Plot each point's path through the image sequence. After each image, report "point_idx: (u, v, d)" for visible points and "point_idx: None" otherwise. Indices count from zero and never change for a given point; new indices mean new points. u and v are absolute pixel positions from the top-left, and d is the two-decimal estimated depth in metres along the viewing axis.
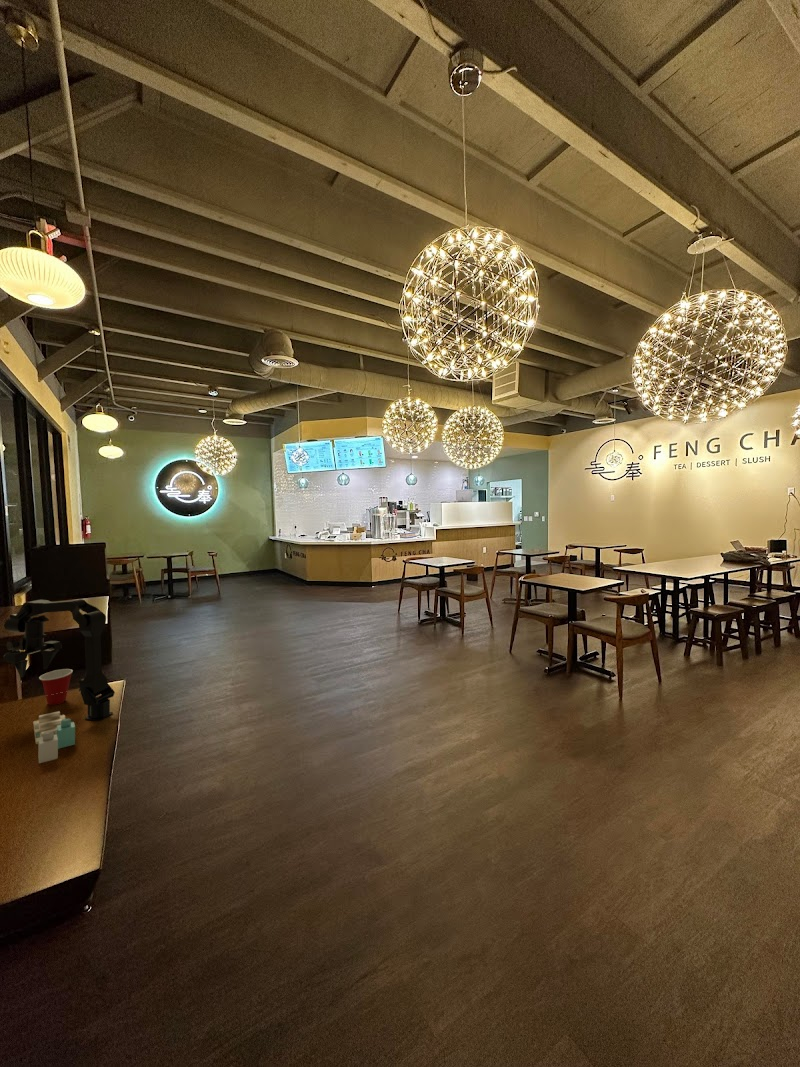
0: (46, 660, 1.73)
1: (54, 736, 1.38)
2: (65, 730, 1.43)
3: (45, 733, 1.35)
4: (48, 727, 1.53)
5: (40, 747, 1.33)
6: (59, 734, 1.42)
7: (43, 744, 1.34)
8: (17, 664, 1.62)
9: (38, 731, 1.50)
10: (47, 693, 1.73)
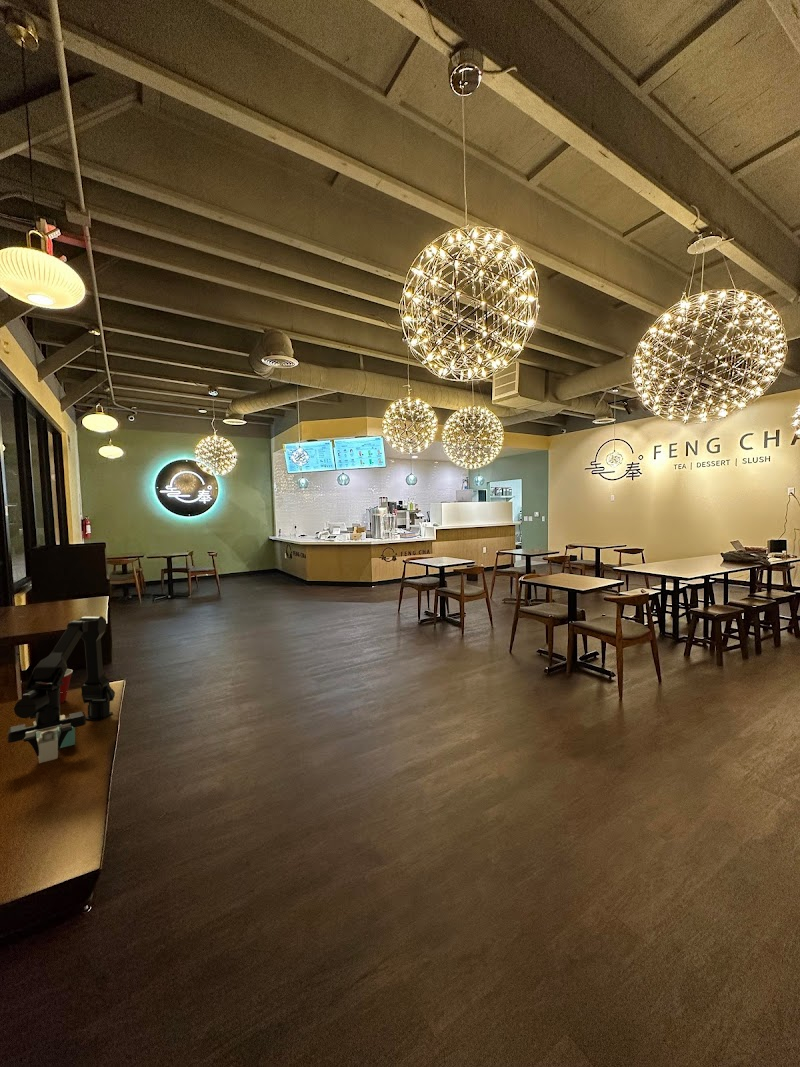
0: (58, 740, 1.37)
1: (54, 736, 1.38)
2: None
3: (45, 733, 1.35)
4: None
5: (40, 747, 1.33)
6: None
7: (43, 744, 1.34)
8: None
9: (38, 731, 1.50)
10: None
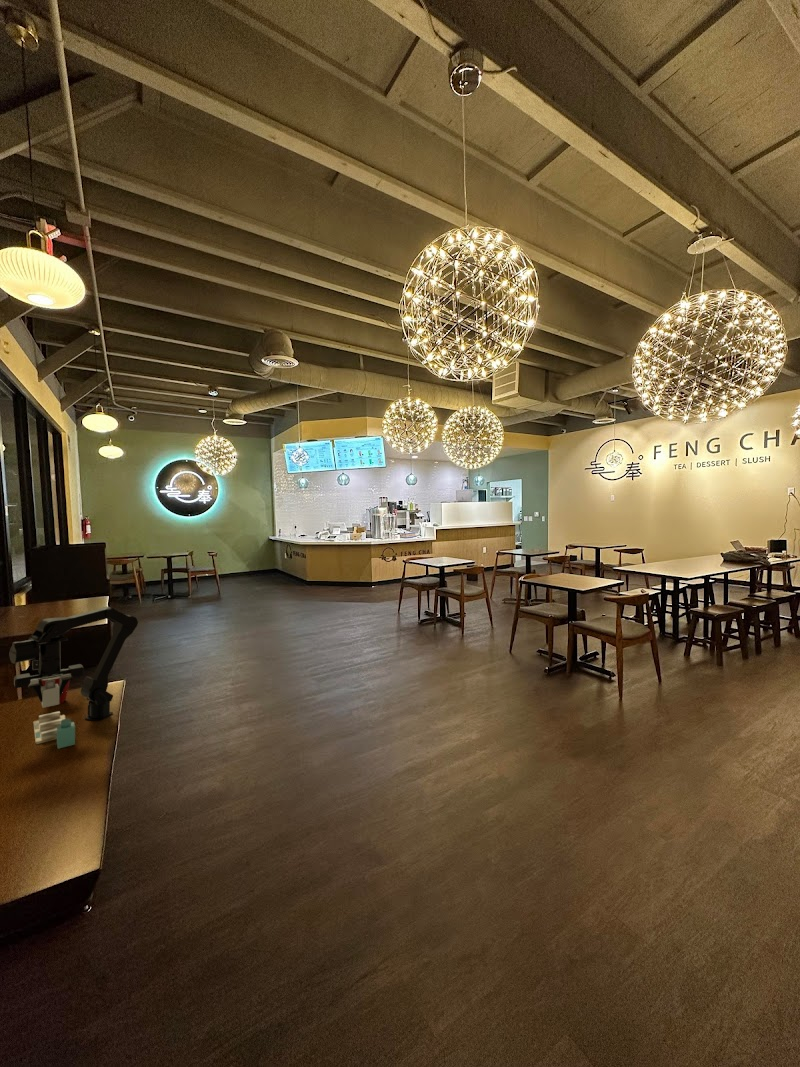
0: (59, 688, 1.52)
1: (55, 685, 1.52)
2: (65, 730, 1.43)
3: (47, 681, 1.50)
4: (48, 727, 1.53)
5: (43, 693, 1.48)
6: (59, 734, 1.42)
7: (46, 691, 1.49)
8: None
9: (38, 731, 1.50)
10: None
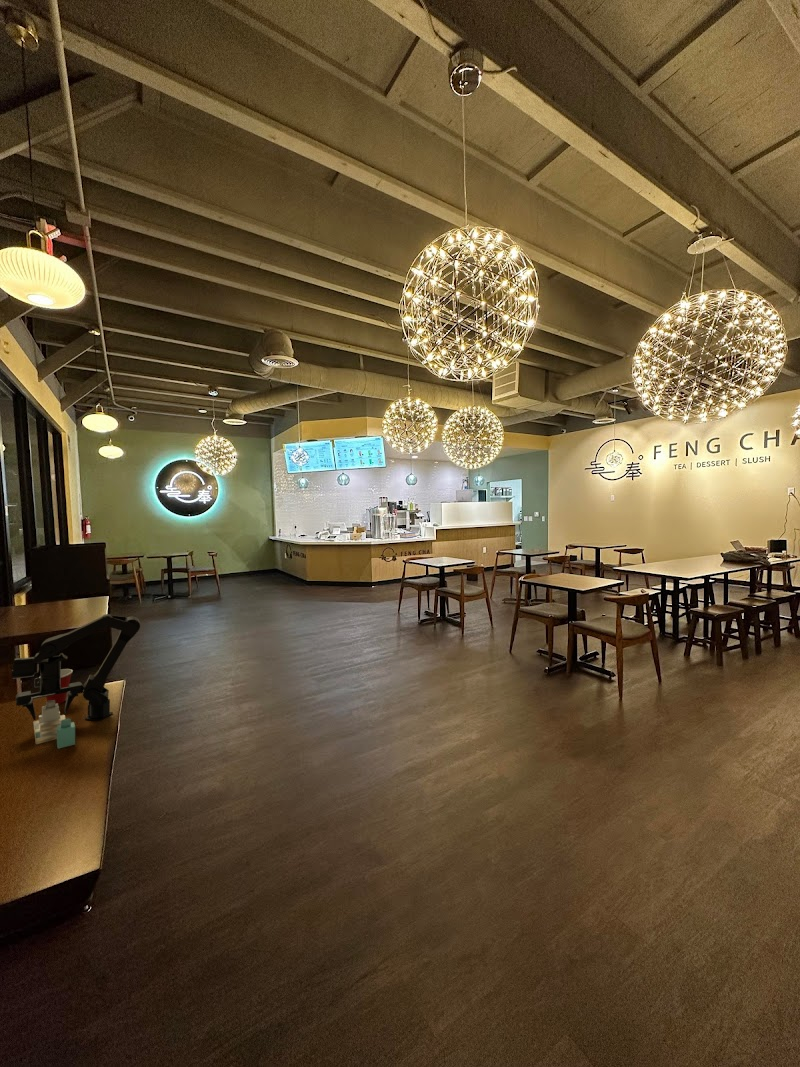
0: (65, 704, 1.59)
1: (55, 705, 1.58)
2: (65, 730, 1.43)
3: (48, 701, 1.56)
4: (48, 727, 1.53)
5: (44, 713, 1.54)
6: (59, 734, 1.42)
7: (47, 711, 1.54)
8: None
9: (38, 731, 1.50)
10: None
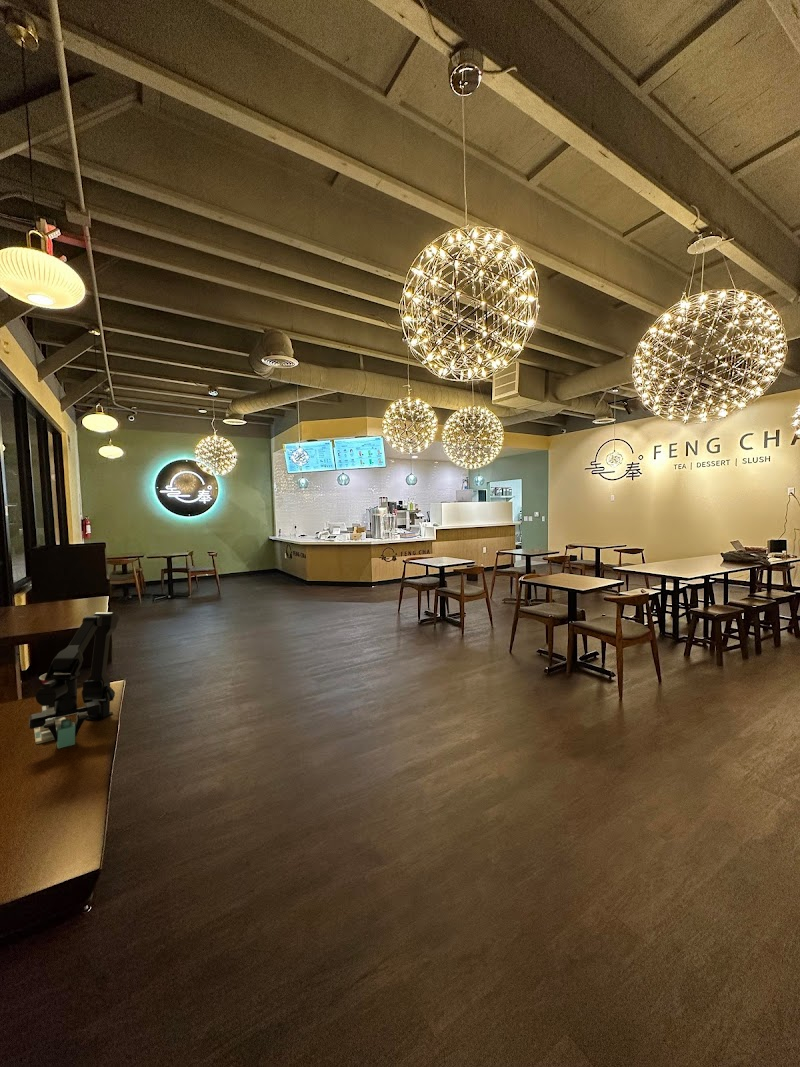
0: (75, 727, 1.46)
1: None
2: (65, 730, 1.43)
3: None
4: None
5: None
6: (59, 734, 1.42)
7: (47, 711, 1.54)
8: None
9: (38, 731, 1.50)
10: None
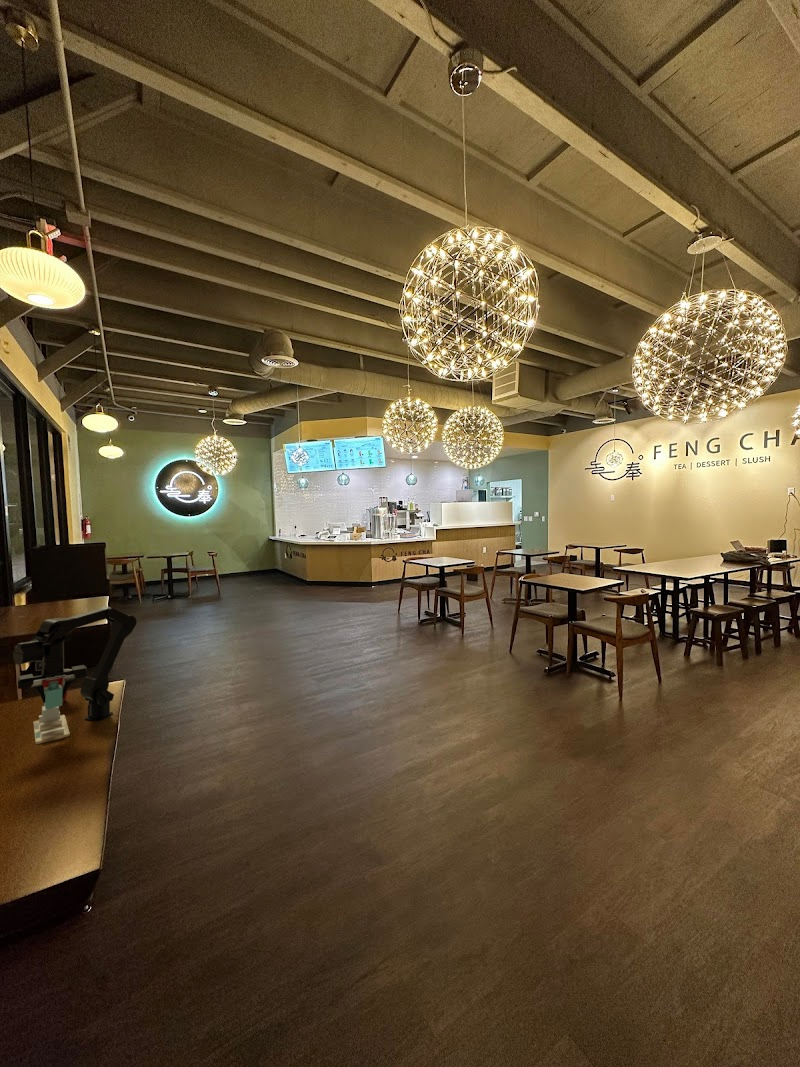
0: (62, 689, 1.51)
1: None
2: (53, 691, 1.48)
3: None
4: (48, 727, 1.53)
5: (44, 713, 1.54)
6: (47, 695, 1.47)
7: (47, 711, 1.54)
8: None
9: (38, 731, 1.50)
10: None
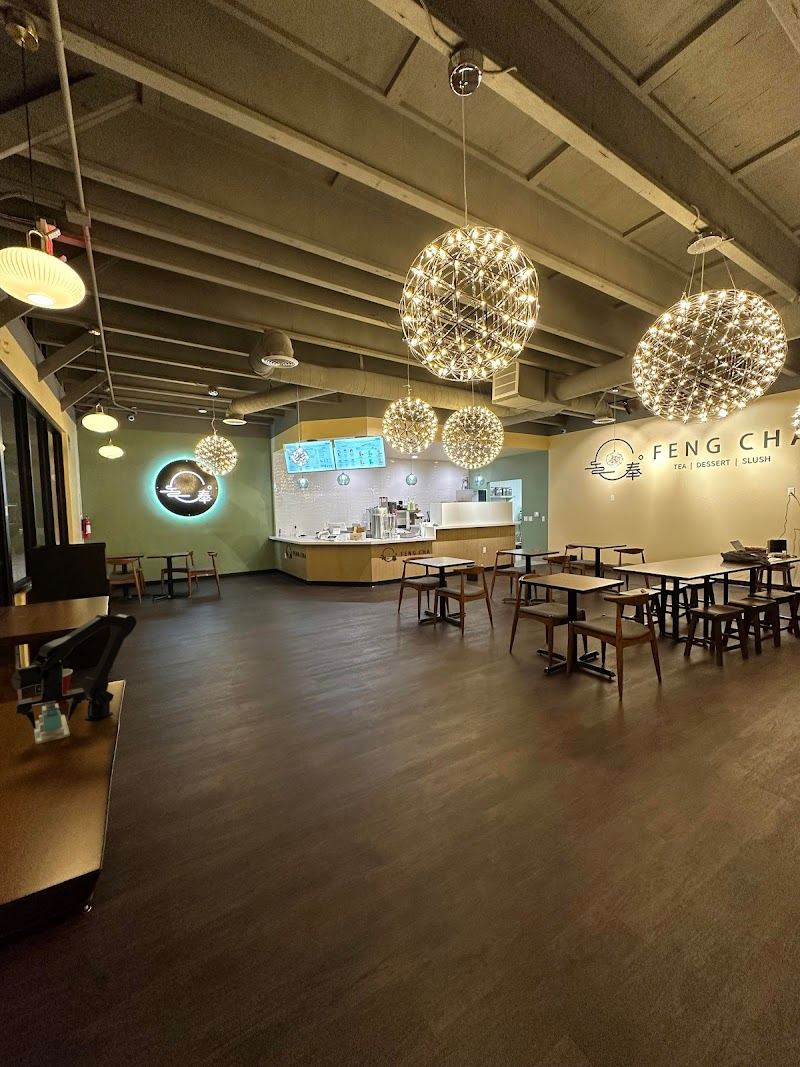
0: (69, 711, 1.53)
1: (55, 705, 1.58)
2: (51, 718, 1.49)
3: None
4: None
5: (44, 713, 1.54)
6: (45, 722, 1.48)
7: None
8: None
9: (38, 731, 1.50)
10: None
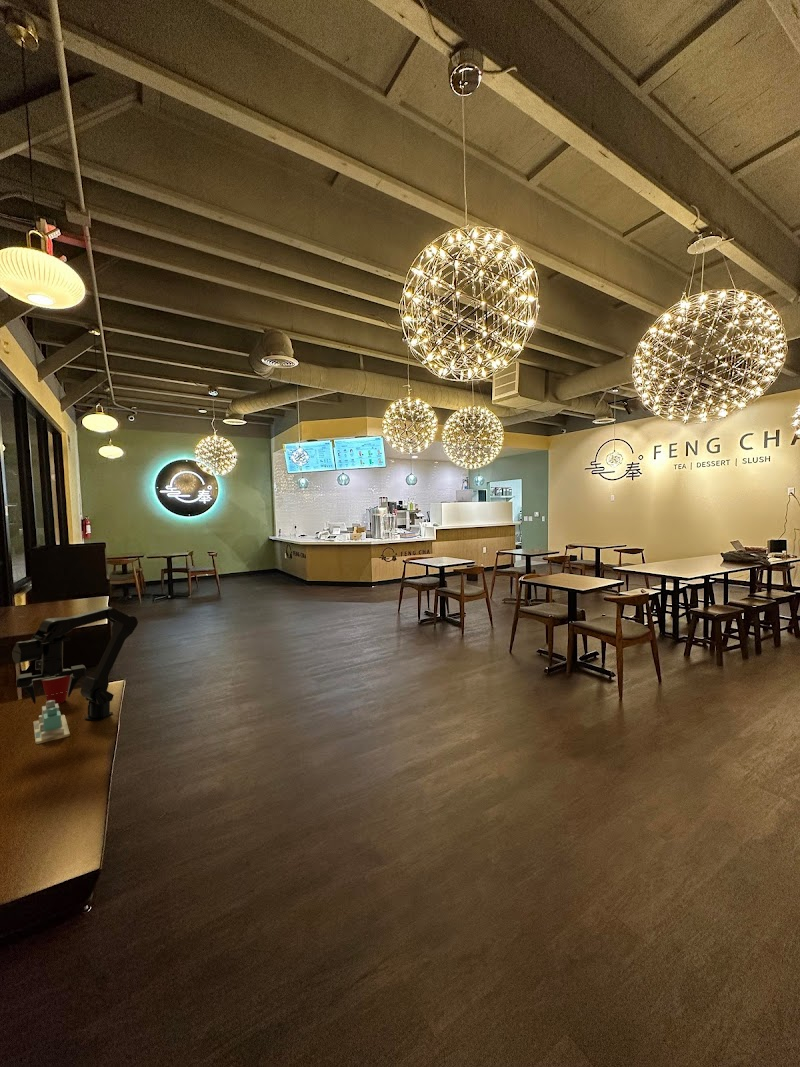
0: (69, 687, 1.53)
1: (55, 705, 1.58)
2: (51, 718, 1.49)
3: (48, 701, 1.56)
4: None
5: (44, 713, 1.54)
6: (45, 722, 1.48)
7: None
8: None
9: (38, 731, 1.50)
10: (47, 693, 1.73)
